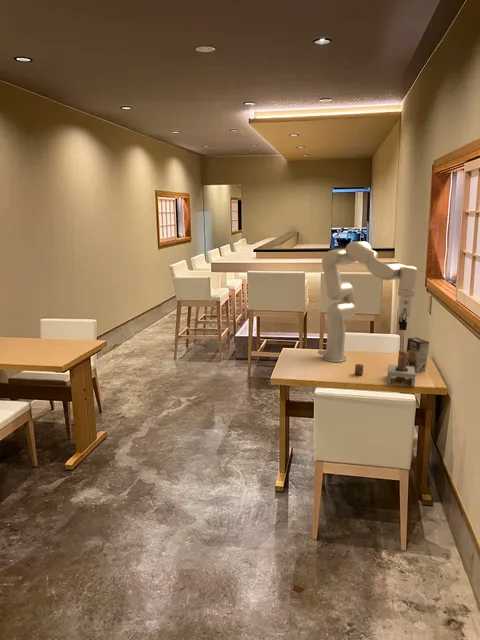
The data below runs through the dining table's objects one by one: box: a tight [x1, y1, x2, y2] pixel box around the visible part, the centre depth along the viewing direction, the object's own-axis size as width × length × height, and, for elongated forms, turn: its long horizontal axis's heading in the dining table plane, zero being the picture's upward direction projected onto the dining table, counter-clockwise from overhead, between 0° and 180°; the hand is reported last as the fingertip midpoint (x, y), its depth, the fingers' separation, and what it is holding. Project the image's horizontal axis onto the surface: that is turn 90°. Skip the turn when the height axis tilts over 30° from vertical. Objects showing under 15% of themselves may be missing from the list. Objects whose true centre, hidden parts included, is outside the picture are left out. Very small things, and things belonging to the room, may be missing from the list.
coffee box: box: [406, 336, 430, 374], centre depth 261 cm, size 9×6×16 cm
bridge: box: [387, 363, 416, 387], centre depth 244 cm, size 12×12×6 cm
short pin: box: [354, 363, 364, 377], centre depth 252 cm, size 4×4×5 cm
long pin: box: [395, 349, 408, 383], centre depth 243 cm, size 4×4×15 cm
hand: (402, 327), depth 241 cm, fingers open, 9 cm apart
